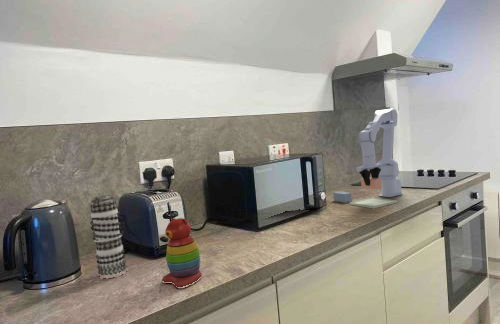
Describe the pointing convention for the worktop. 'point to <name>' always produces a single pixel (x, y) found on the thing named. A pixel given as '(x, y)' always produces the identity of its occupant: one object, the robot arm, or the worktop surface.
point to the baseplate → (373, 202)
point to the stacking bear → (181, 254)
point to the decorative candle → (107, 235)
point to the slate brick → (342, 197)
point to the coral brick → (372, 183)
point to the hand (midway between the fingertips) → (371, 184)
